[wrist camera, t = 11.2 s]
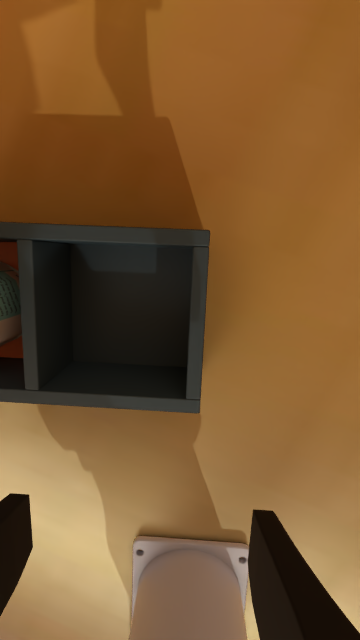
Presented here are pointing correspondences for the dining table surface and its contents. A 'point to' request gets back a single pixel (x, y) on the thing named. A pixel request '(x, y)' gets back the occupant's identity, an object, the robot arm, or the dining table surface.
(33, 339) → the organizer
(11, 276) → the beer can
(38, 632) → the dining table surface
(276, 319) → the dining table surface
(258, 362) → the dining table surface
